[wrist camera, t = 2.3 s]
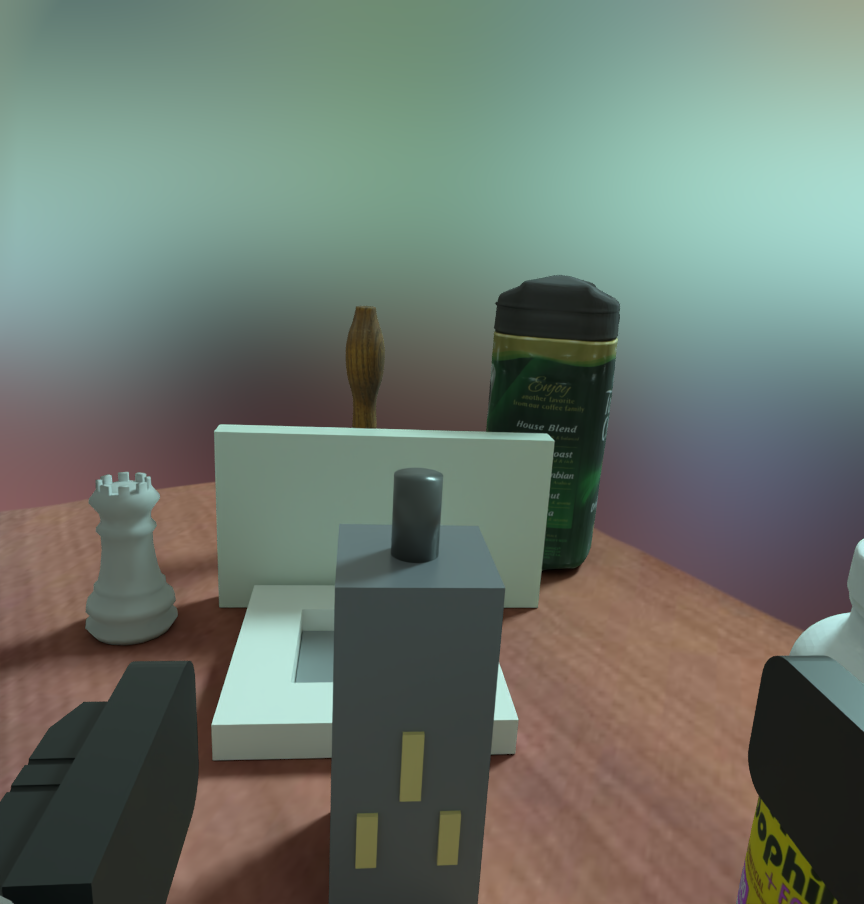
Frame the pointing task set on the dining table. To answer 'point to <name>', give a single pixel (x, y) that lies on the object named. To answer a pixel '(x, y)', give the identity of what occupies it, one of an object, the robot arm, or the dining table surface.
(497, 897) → the dining table surface
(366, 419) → the hand bell
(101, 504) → the rook chess piece
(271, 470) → the socket
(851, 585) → the supplement bottle
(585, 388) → the coffee jar
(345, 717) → the plug
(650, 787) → the dining table surface
